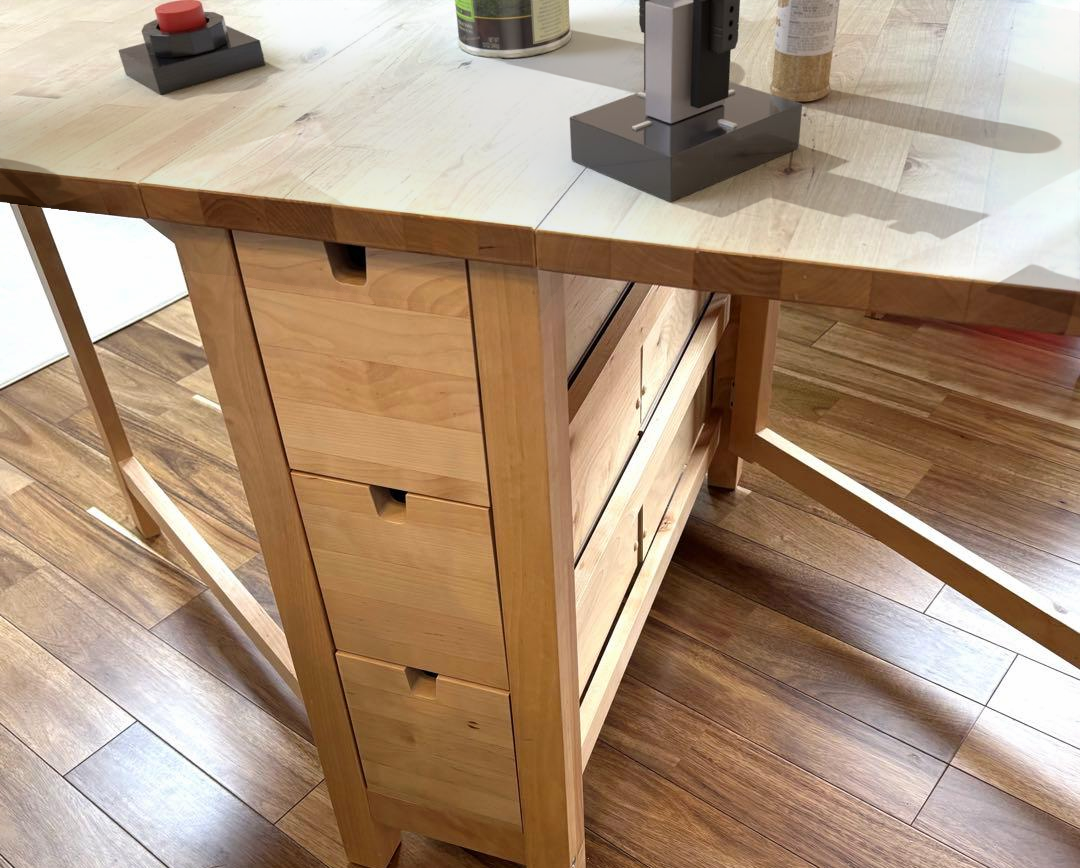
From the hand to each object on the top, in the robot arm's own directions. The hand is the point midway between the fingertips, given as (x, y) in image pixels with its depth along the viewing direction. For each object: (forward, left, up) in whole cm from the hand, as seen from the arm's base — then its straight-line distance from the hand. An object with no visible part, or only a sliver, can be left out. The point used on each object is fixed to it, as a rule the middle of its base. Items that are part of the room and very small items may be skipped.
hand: (685, 93), depth 70 cm
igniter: (-16, +46, -4) cm, 49 cm away
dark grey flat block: (0, 0, -4) cm, 4 cm away
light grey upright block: (0, 0, -1) cm, 1 cm away
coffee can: (+8, +30, -4) cm, 31 cm away
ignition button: (-16, +46, -1) cm, 49 cm away
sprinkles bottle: (+14, +2, -4) cm, 15 cm away
